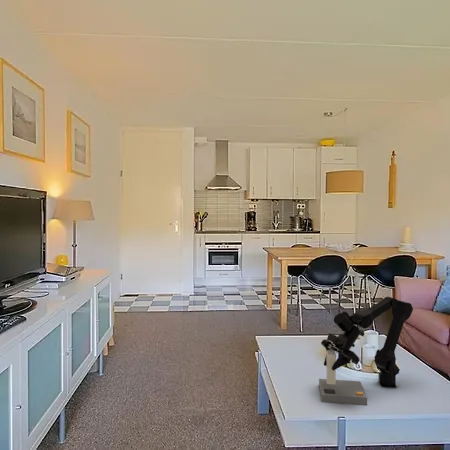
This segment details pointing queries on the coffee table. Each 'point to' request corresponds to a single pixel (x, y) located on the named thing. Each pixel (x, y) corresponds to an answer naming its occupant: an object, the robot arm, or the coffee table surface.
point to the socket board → (342, 392)
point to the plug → (330, 367)
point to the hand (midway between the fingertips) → (328, 367)
